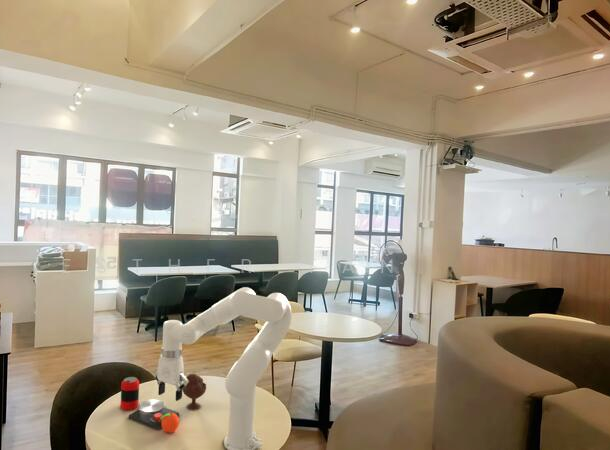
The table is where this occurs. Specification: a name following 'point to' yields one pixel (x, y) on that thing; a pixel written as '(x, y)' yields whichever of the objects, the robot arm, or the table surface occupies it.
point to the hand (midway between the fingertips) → (170, 396)
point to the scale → (150, 418)
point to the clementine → (170, 422)
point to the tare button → (157, 416)
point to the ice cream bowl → (194, 389)
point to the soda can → (129, 393)
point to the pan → (151, 406)
